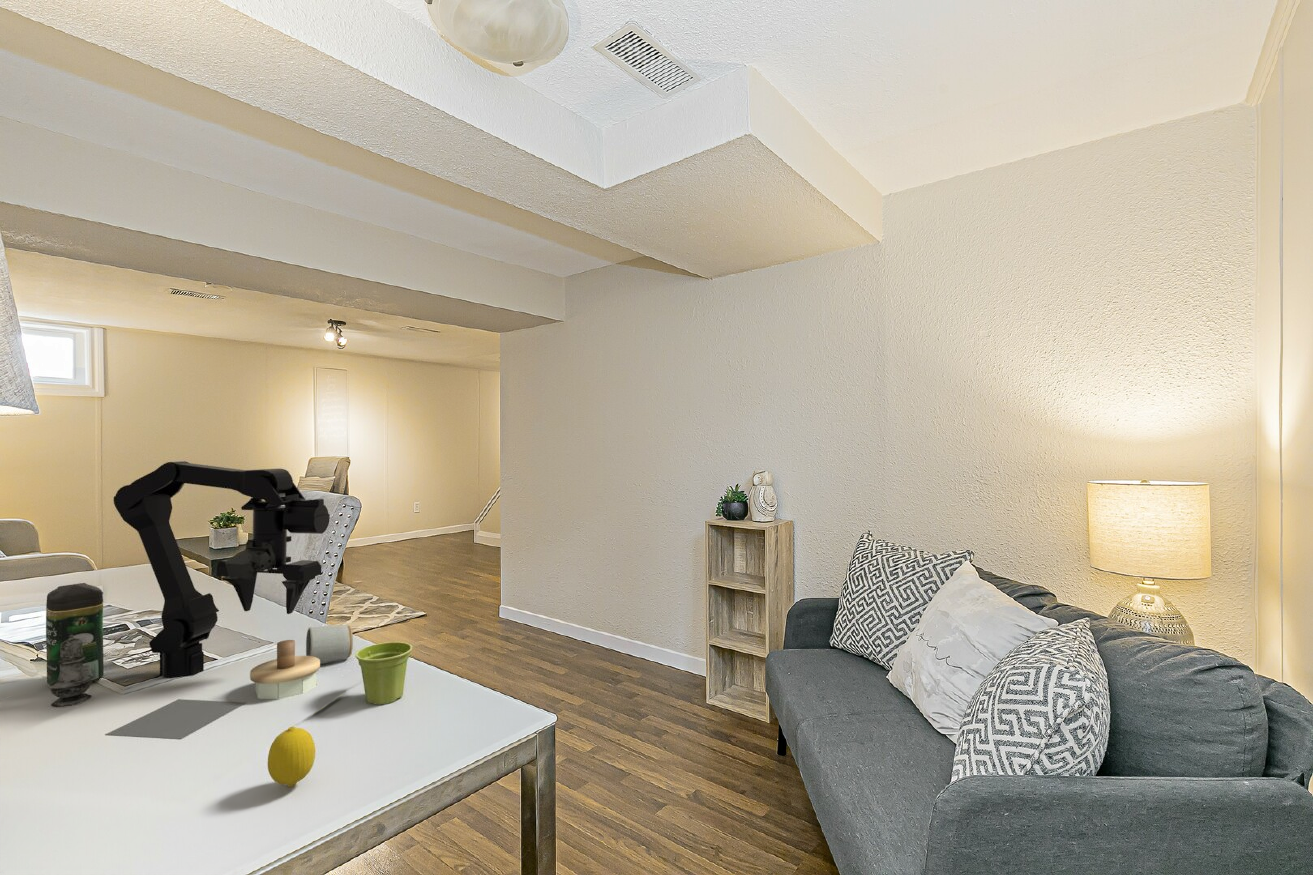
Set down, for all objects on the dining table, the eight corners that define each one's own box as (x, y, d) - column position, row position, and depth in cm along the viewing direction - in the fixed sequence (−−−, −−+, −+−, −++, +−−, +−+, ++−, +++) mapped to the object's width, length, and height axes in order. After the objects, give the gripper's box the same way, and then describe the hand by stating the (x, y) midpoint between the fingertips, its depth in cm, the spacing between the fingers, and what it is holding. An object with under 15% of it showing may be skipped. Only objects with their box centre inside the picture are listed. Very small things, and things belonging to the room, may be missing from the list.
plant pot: (356, 713, 105) (356, 662, 105) (354, 693, 113) (354, 646, 113) (415, 702, 109) (414, 653, 109) (409, 684, 117) (409, 638, 117)
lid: (234, 682, 108) (234, 651, 108) (279, 659, 119) (279, 631, 119) (293, 684, 107) (293, 653, 107) (332, 661, 118) (332, 633, 118)
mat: (104, 740, 95) (104, 734, 95) (178, 704, 108) (178, 699, 108) (181, 745, 94) (181, 738, 94) (246, 708, 107) (246, 702, 107)
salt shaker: (101, 696, 112) (101, 630, 112) (61, 710, 106) (61, 640, 106) (80, 692, 114) (80, 627, 114) (40, 705, 108) (40, 637, 108)
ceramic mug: (354, 662, 129) (354, 625, 129) (310, 671, 124) (309, 632, 124) (344, 649, 137) (344, 614, 138) (302, 657, 133) (302, 621, 133)
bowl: (243, 702, 109) (243, 680, 109) (281, 682, 118) (280, 661, 118) (292, 705, 108) (292, 682, 108) (325, 684, 117) (325, 663, 117)
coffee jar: (42, 681, 119) (42, 585, 119) (97, 669, 125) (97, 578, 125) (50, 694, 113) (50, 593, 113) (107, 681, 119) (107, 585, 119)
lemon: (281, 775, 86) (281, 718, 86) (322, 774, 86) (322, 716, 86) (258, 799, 80) (258, 737, 80) (303, 797, 80) (303, 736, 80)
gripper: (191, 537, 114) (189, 621, 114) (282, 541, 112) (281, 627, 112) (239, 528, 125) (238, 605, 125) (324, 532, 123) (322, 610, 123)
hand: (268, 612), depth 121 cm, fingers open, 9 cm apart
